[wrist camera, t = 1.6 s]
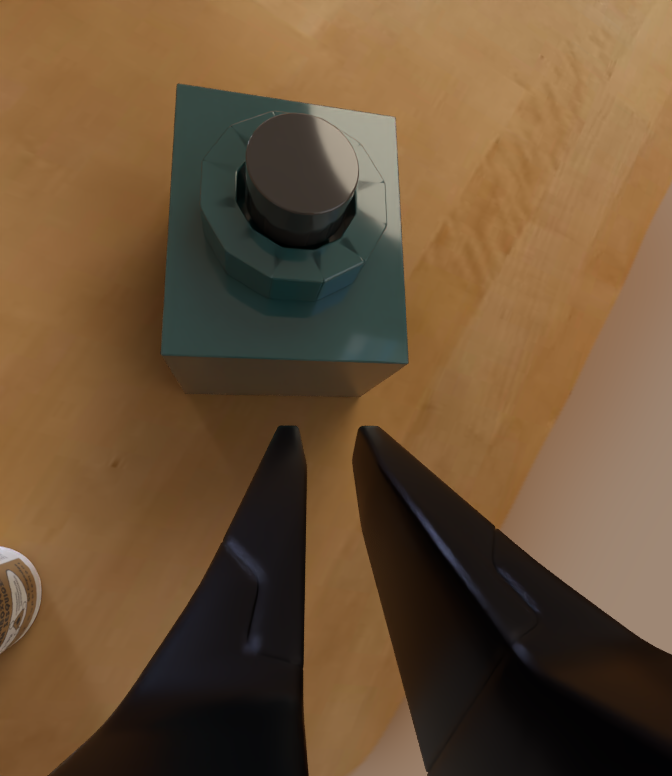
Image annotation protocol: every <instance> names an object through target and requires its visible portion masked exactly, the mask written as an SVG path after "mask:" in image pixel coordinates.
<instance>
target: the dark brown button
mask: <svg viewBox="0 0 672 776" xmlns="http://www.w3.org/2000/svg"><path fill="white" fill-rule="evenodd" d="M358 179H359V164H358V160H357V156H356V153H355V151H354V149H353V147H352V145H351V143H350V142H349V141H348V139H347V138H346V137H345V136H344V134H343V133H342V132H341V131H339V130H338V129H337V128H336V127H335V126H333V125H332V124H330V123H329V122H327V121H325V120H323V119H321V118H318V117H316V116H312V115H308V114H303V113H286V114H281V115H277V116H274V117H272V118H270V119H268V120H266V121H265V122H263V123H262V124H261V125H260V126H258V128H257V129H256V130H255V131H254V132H253V134H252V135H251V137H250V139H249V141H248V144H247V148H246V156H245V203H246V207H247V210H248V213H249V215H250V217H251V219H252V220H253V221H254V223H255V224H256V225H257V227H258V228H259V229H260V230H261V231H262V232H263V233H265V234H266V235H267V236H269V237H270V238H272V239H274V240H276V241H278V242H280V243H283V244H286V245H290V246H301V247H303V246H311V245H316V244H318V243H321V242H323V241H325V240H327V239H328V238H330V237H331V236H332V235H333V234H334V233H335V232H336V231H337V230H338V229H339V227H340V226H341V224H342V222H343V219H344V217H345V214H346V212H347V209H348V207H349V204H350V202H351V199H352V197H353V194H354V192H355V189H356V187H357V184H358Z"/></svg>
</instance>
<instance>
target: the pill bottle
mask: <svg viewBox="0 0 672 776" xmlns="http://www.w3.org/2000/svg"><path fill="white" fill-rule="evenodd" d="M41 593H42V588H41V581H40V577H39V575H38V573H37V571H36V569H35V567H34V566H33V564H32V563H31V562H30V561H29V560H28V559H27V558H26V557H25V556H24V555H22V554H21V553H19V552H17V551H15V550H12V549H9V548H5V547H0V654H1V653H3V652H4V651H5V650H7V649H8V648H9V647H11V646H12V645H13V644H15V643H16V642H17V641H18V640H19V639H20V638H21V637H22V636H24V634H25V633H26V632H27V631H28V629H29V628H30V626H31V625H32V623H33V622H34V620H35V617H36V615H37V613H38V610H39V607H40V603H41Z"/></svg>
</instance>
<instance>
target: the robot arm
mask: <svg viewBox="0 0 672 776" xmlns="http://www.w3.org/2000/svg"><path fill="white" fill-rule="evenodd" d="M352 464H353V472H354V479H355V486H356V493H357V500H358V507H359V515H360V521H361V527H362V532H363V537H364V541H365V544H366V548H367V552H368V556H369V559H370V563H371V567H372V571H373V574H374V578H375V582H376V586H377V589H378V593H379V597H380V601H381V604H382V608H383V612H384V615H385V619H386V623H387V627H388V630H389V634H390V638H391V642H392V645H393V649H394V653H395V657H396V660H397V664H398V668H399V672H400V675H401V679H402V683H403V686H404V690H405V694H406V698H407V701H408V705H409V709H410V713H411V716H412V720H413V724H414V728H415V731H416V735H417V739H418V742H419V746H420V750H421V753H422V758H423V761H424V765H425V769H426V771H427V772H428V774H427V776H672V655H671V654H669V653H667V652H665V651H663V650H660V649H659V648H656V647H655V646H653V645H651V644H649V643H648V642H646V641H644V640H643V639H641V638H640V637H638V636H637V635H635V634H634V633H633V632H631V631H629V630H628V629H627V628H626V627H624V626H623V625H621V624H620V623H619V622H617V621H616V620H615V619H613V618H612V617H611V616H609V615H608V614H606V613H605V612H604V611H602V610H601V609H600V608H598V607H597V606H596V605H594V604H593V603H592V602H590V601H589V600H588V599H586V598H585V597H583V596H582V595H581V594H579V593H578V592H577V591H575V590H574V589H573V588H571V587H570V586H568V585H567V584H566V583H564V582H563V581H562V580H560V579H559V578H558V577H557V576H555V575H554V574H553V573H551V572H550V571H549V570H547V569H546V568H545V567H543V566H542V565H541V564H540V563H538V562H537V561H536V560H535V559H533V558H532V557H531V556H530V555H528V554H527V553H526V552H525V551H524V550H522V549H521V548H520V547H519V546H518V545H516V544H515V543H514V542H513V541H512V540H510V539H509V538H508V537H507V536H506V535H504V534H503V533H502V532H501V531H500V530H499V529H495V526H494V525H493V524H492V523H490V522H489V521H488V520H487V519H486V518H485V517H483V516H482V515H481V514H480V513H479V512H478V511H477V510H475V509H474V508H473V507H472V506H471V505H470V504H468V503H467V502H466V501H465V500H464V499H463V498H461V497H460V496H459V495H458V494H457V493H456V492H454V491H453V490H452V489H451V488H450V487H449V486H447V485H446V484H445V483H444V482H443V481H442V480H441V479H439V478H438V477H437V476H436V475H435V474H434V473H432V472H431V471H430V470H429V469H428V468H427V467H425V466H424V465H423V464H422V463H421V462H420V461H418V460H417V459H416V458H415V457H414V456H413V455H412V454H410V453H409V452H408V451H407V450H406V449H405V448H403V447H402V446H401V445H400V444H399V443H398V442H396V441H395V440H394V439H393V438H392V437H391V436H389V435H388V434H387V433H386V432H385V431H384V430H382V429H381V428H380V427H378V426H361V427H360V428H359V429H358V432H357V437H356V442H355V447H354V452H353V458H352ZM306 500H307V464H306V458H305V454H304V449H303V445H302V440H301V436H300V431H299V428H298V427H297V426H283V425H281V426H279V427H278V428H277V430H276V432H275V434H274V436H273V438H272V440H271V442H270V444H269V446H268V448H267V450H266V452H265V454H264V456H263V458H262V460H261V462H260V464H259V467H258V469H257V471H256V473H255V475H254V477H253V479H252V481H251V483H250V485H249V487H248V489H247V491H246V493H245V495H244V497H243V499H242V502H241V504H240V506H239V508H238V510H237V512H236V514H235V516H234V518H233V520H232V522H231V524H230V526H229V528H228V530H227V532H226V534H225V537H224V539H223V542H222V543H221V544H220V546H219V548H218V550H217V552H216V554H215V556H214V559H213V560H212V562H211V564H210V566H209V568H208V570H207V572H206V574H205V575H204V577H203V579H202V581H201V583H200V585H199V586H198V588H197V590H196V591H195V593H194V594H193V596H192V598H191V599H190V601H189V602H188V604H187V606H186V607H185V609H184V610H183V612H182V613H181V615H180V616H179V618H178V619H177V621H176V622H175V624H174V625H173V627H172V628H171V630H170V631H169V633H168V634H167V636H166V637H165V639H164V640H163V642H162V643H161V645H160V646H159V648H158V649H157V651H156V652H155V654H154V655H153V657H152V658H151V660H150V661H149V663H148V664H147V666H146V667H145V669H144V670H143V672H142V673H141V675H140V676H139V678H138V679H137V681H136V682H135V684H134V685H133V687H132V688H131V690H130V691H129V692H128V694H127V695H126V697H125V698H124V699H123V701H122V702H121V703H120V705H119V706H118V707H117V709H116V710H115V711H114V712H113V714H112V715H111V716H110V717H109V718H108V720H107V721H106V722H105V723H104V724H103V725H102V726H101V727H100V728H99V729H98V730H97V732H96V733H94V734H93V735H92V736H91V737H90V738H89V739H88V740H87V741H86V742H85V743H84V744H83V745H81V746H80V747H79V748H78V749H77V750H76V751H75V752H74V753H73V754H71V755H70V756H69V757H68V758H67V759H66V760H65V761H64V762H62V763H61V764H60V765H59V766H58V767H57V768H56V769H55V770H54V771H52V772H51V773H50V774H49V775H48V776H309V775H308V763H307V750H306V738H305V726H304V709H303V664H304V610H305V555H306Z"/></svg>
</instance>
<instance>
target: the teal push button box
mask: <svg viewBox="0 0 672 776" xmlns="http://www.w3.org/2000/svg"><path fill="white" fill-rule="evenodd" d="M286 113H303V114H308V115H312V116H316V117H318V118H321V119H323V120H325V121H327V122H329V123H330V124H332V125H333V126H335V127H336V128H337V129H338V130H339V131H341V132H342V133H343V134H344V136H345V137H346V138H347V139H348V141H349V142H350V143H351V145H352V147H353V149H354V151H355V153H356V156H357V160H358V164H359V179H358V184H357V187H356V189H355V192H354V194H353V197H352V199H351V202H350V204H349V207H348V209H347V212H346V214H345V217H344V219H343V222H342V224H341V226H340V227H339V229H338V230H337V231H336V232H335V233H334V234H333V235H332V236H331V237H330V238H328V239H327V240H325V241H323V242H321V243H318V244H316V245H311V246H303V247H301V246H290V245H286V244H283V243H280V242H278V241H276V240H274V239H272V238H270V237H269V236H267V235H266V234H265V233H263V232H262V231H261V230H260V229H259V228H258V227H257V225H256V224H255V223H254V221H253V220H252V219H251V217H250V215H249V213H248V210H247V207H246V203H245V156H246V148H247V144H248V141H249V139H250V137H251V135H252V134H253V132H254V131H255V130H256V129H257V128H258V126H260V125H261V124H262V123H263V122H265V121H266V120H268V119H270V118H272V117H274V116H277V115H281V114H286ZM161 356H162V357H163V359H164V361H165V362H166V364H167V365H168V367H169V369H170V370H171V372H172V373H173V375H174V377H175V378H176V380H177V381H178V383H179V385H180V386H181V388H182V389H183V391H184V393H185V394H226V395H279V396H333V397H361V396H362V395H364V394H365V393H366V392H368V391H369V390H371V389H372V388H374V387H375V386H377V385H378V384H380V383H381V382H382V381H384V380H385V379H387V378H388V377H390V376H391V375H393V374H394V373H396V372H397V371H398V370H400V369H401V368H403V367H404V366H406V365H407V364H408V363H409V362H408V343H407V324H406V305H405V286H404V267H403V248H402V229H401V210H400V191H399V172H398V153H397V134H396V118H395V117H393V116H386V115H380V114H373V113H367V112H361V111H354V110H348V109H341V108H335V107H328V106H322V105H315V104H309V103H302V102H296V101H289V100H283V99H276V98H270V97H263V96H257V95H250V94H244V93H237V92H231V91H224V90H218V89H211V88H205V87H198V86H192V85H185V84H179V83H178V84H177V86H176V103H175V120H174V136H173V153H172V170H171V187H170V204H169V221H168V237H167V254H166V271H165V288H164V305H163V321H162V338H161Z"/></svg>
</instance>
